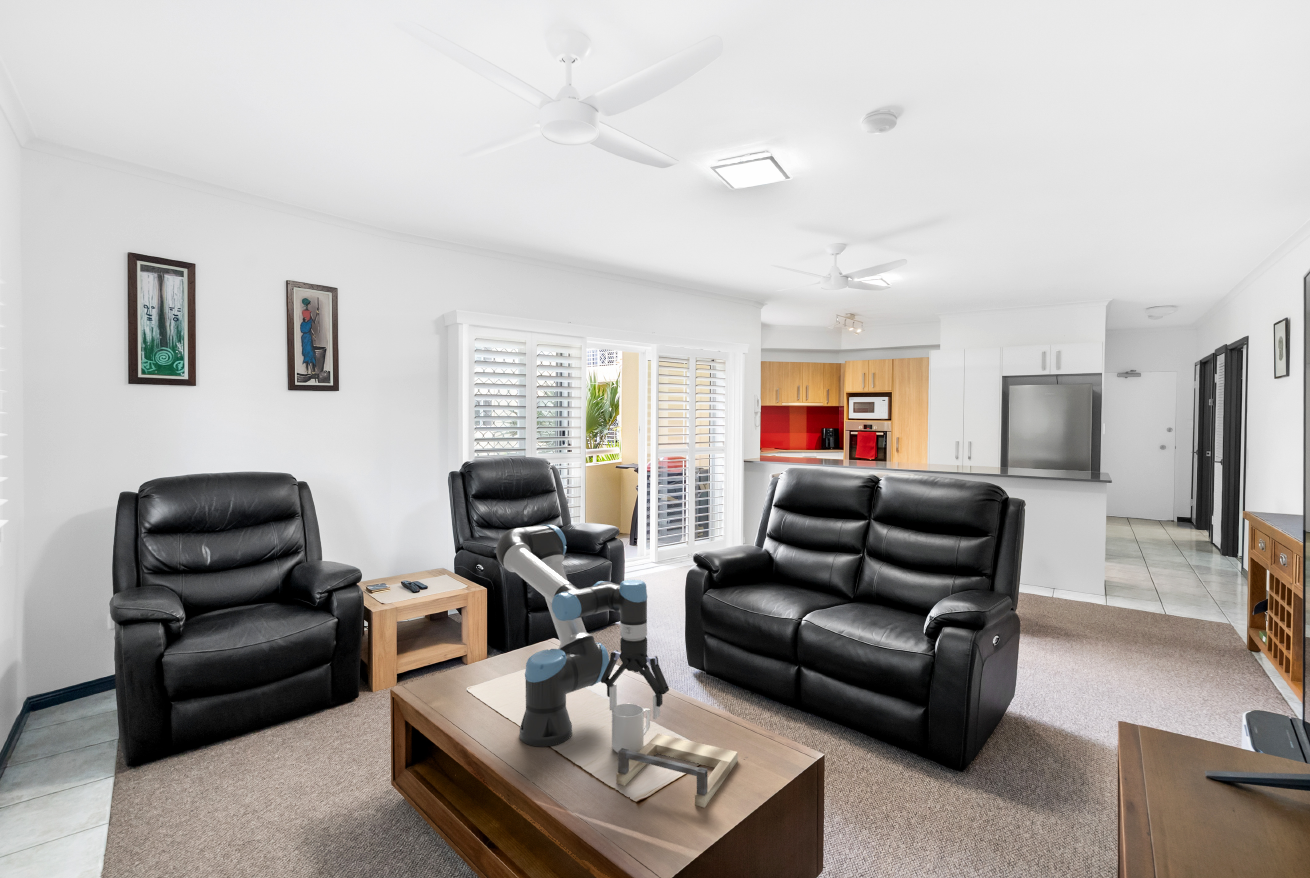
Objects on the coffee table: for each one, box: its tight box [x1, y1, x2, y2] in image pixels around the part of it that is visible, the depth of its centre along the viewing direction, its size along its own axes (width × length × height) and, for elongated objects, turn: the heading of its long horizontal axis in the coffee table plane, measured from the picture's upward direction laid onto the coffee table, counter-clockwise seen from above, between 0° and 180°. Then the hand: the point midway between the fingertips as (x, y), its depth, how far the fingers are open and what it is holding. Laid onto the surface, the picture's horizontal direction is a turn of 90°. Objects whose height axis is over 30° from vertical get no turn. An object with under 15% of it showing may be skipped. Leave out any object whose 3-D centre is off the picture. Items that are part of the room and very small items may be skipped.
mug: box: [611, 702, 651, 754], centre depth 182 cm, size 12×9×11 cm
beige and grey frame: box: [615, 733, 739, 809], centre depth 169 cm, size 24×24×8 cm
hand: (634, 713), depth 180 cm, fingers open, 13 cm apart
